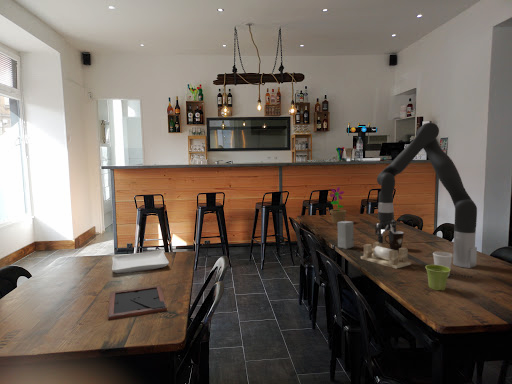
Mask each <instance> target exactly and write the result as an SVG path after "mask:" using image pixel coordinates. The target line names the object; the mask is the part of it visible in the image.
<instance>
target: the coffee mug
mask: <svg viewBox="0 0 512 384" xmlns="http://www.w3.org/2000/svg"><path fill="white" fill-rule="evenodd" d="M387 237H389V232H388V231H387V235H385V236H384V241H385V243H387V245H389V249H392V250H397V251H399V248H403V247H402V246H403V239H404V231H401V230H396V232H394V234H393V241H389V240H388V241H387V240H386V239H387Z"/></svg>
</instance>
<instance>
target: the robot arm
mask: <svg viewBox="0 0 512 384" xmlns="http://www.w3.org/2000/svg"><path fill="white" fill-rule="evenodd" d="M439 133H440V128H439V126H438V125H437V124H436V123H434V122H426V123H424V124H422V125H421V126H420V127H419V128H418V129H417V130H416V134H415V137H414V138H413V140H412V141H411V142H410V143H409V144H408V145H407V146H406V147H405V148H404V149H403V150H401V152H400V153H399V154H397V156H396V157H395V158H394V159H393V160H392V162H391V163H390V164H389V165H387V166H386V167H385V168H384V169H383V170H381V172H380V173H378V175H377V177H376V181H377V182H376V183H377V184H378V185H380V187H381V188H380V191H379V192H378V203H377V204H378V206H377V212H378V213H377V220H378V221H379V223H376V222H375V227H374V229H375V231H374V234H375V235H376V236H377V239H378V240H377V242H379V243H381V244H384V234H385V233H386V232H387V233H388V232H389V236H388V242H389V241H393V234H394V232H396V231H397V221H396V220H394V219H395V217H394V216H395V215H394V213H395V212H394V208H395V207H394V191H395V185H396V179H395V178H396V176H397V175H399V174H401V173H402V172H404V170H405V169H406V168H407V167H408V166H409V165H410V164H411V162H412V161H413V160H414V159H415V157H416V156H417V155H418V154H419V153H420V152H422V150H423V151H424V152H425V153H426V156H427V157H428V159H429V161H430V164H431V165H432V168H433V169H434V172H435V174H436V175H437V178H438V179H439V182H440V183H441V184H442V186H443V187H444V188H445V190H446V191H447V193H448V195H449V197H450V198H451V201H452V204H453V206H454V228H453V231H454V233H453V253H452V254H453V257H452V264H453V266H457V267H460V268H468V269H471V268H475V267H477V255H478V253H477V252H478V251H477V250H478V248H477V246H476V232H477V231H476V229H477V221H478V220H477V219H478V216H477V215H478V207H477V205H476V203H475V202H474V201H473V199H472V198H471V196H470V195H469V194H468V191H466V188H465V186H464V184H463V180H462V177H461V175H460V173H459V171H458V169H457V167H456V165H455V162H454V161H453V160H452V158H451V157H450V156H449V155H448V154H447V153H446V152H445V151H444V150H443V149H442V148H441V146H440V144H439V142H438V141H437V138H438V135H439Z"/></svg>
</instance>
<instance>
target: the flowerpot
mask: <svg viewBox="0 0 512 384" xmlns="http://www.w3.org/2000/svg"><path fill="white" fill-rule="evenodd" d="M340 189H341V188H340V187H339V186H338V187H336V190H335V189H334V188H331V189H330V190H331V192H332V193H331V194H330V195H329V198H330V197H331V198H333V197H334V198H333V201H331V202H330V204H331V205H334V206H335V205H337V208H336V209H330V210H329V213H330V216H331V217H330V218H331V223H332V224H337V222H341V221H346V220H345V219H346V214H347V213H348V211H347V209H341V208H344V205H341V204H339V203H340V200H343V197H342V196H341V195H344V193H345V191H343V190H342V191H340ZM337 225H338V224H337Z"/></svg>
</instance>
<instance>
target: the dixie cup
mask: <svg viewBox="0 0 512 384" xmlns="http://www.w3.org/2000/svg"><path fill="white" fill-rule="evenodd" d="M432 256H433V265H441V266H445V267H448V268H450V269H451V267H452V263H453V253H451V252H447V251H434V252H432ZM450 273H451V271H450V272H449V274H448V277H449V276H450Z"/></svg>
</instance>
